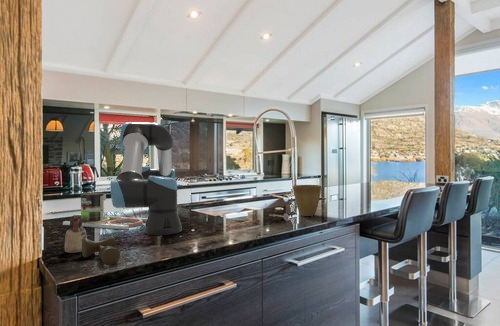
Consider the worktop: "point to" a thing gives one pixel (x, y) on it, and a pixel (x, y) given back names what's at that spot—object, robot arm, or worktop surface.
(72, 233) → the figurine
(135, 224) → the marked ring
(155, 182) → the robot arm
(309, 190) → the plant pot
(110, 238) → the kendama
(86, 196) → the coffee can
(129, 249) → the worktop surface
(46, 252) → the worktop surface
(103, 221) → the flat rectangular tray
